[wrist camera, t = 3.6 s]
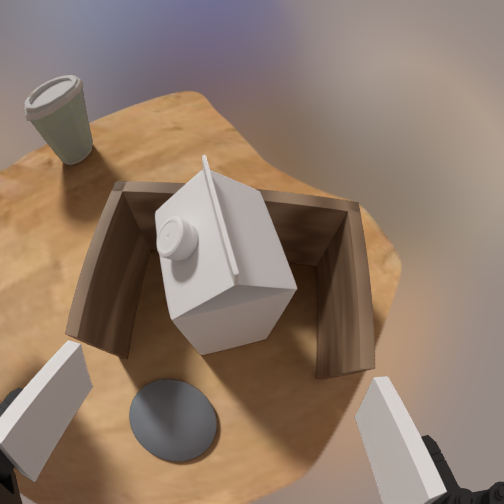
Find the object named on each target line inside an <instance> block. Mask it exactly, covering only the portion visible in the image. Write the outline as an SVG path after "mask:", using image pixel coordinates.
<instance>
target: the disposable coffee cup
mask: <svg viewBox="0 0 504 504" xmlns="http://www.w3.org/2000/svg"><path fill="white" fill-rule="evenodd" d="M24 105H25V107H26V108H25V110H24V111H25V114H26V118H27V120H28V121H31V122H32V124H33V125H34V126H35V128H36V129H37V130H38V132H39V133H40V134H41V135H42V137H43V138H44V140H45V141H46V142H47V143H48V145H49V146H50V147H51V148H52V150H53V151H54V152H55V153H56V155H57V156H58V157H59V158H60V160H61V161H62V162H63V163H65V164H66V165H74V164H77V163H79V162H81V161H82V160H84V159H85V158H86V157H87V156H88V155H89V154H90V152H91V151H92V143H93V140H92V136H91V131H90V126H89V121H88V116H87V111H86V105H85V99H84V93H83V83H82V81H81V80H80V79H79V78H77V77H75V76H74V75H67V76H61V77H58V78H55V79H52V80H50V81H48V82H46V83H44V84H43V85H41V86H39V87H38V88H37V89H35V90H34V91H33V92H32V93H31V94H30V95H29V96H28V98H27V100H26V101H25V103H24Z"/></svg>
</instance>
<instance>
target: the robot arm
mask: <svg viewBox="0 0 504 504" xmlns="http://www.w3.org/2000/svg"><path fill="white" fill-rule="evenodd" d="M92 387H93V386H92V383H91V380H90V376H89V373H88V370H87V366H86V363H85V359H84V355H83V351H82V347H81V344H79V343H76V342H72V341H69V340H68V341H67V342H66V343H65V344H64V345H63V346H62V347H61V348H60V349H59V350H58V351H57V353H56V354H55V355H54V356H53V357H52V358H51V359H50V360H49V361H48V362H47V363H46V364H45V365H44V367H43V368H42V369H41V370H40V371H39V372H38V373H37V374H36V375H35V377H34V378H33V379H32V380H31V381H30V382H29V383H28V385H27V386H26V387H25V388H24V389H21V388H17V389H16V390H14V391H12V392H10V393H9V395H8V396H7V397H6V398H5V399H4V402H3V401H2V403H1V404H0V504H22V501H21V498H20V493H19V489H18V485H17V480H16V475H15V473H14V471H13V469H14V467H16V469H17V470H18V471H19V472H20V473H21V474H22V475H24V476H25V477H27V478H29V479H30V480H32V481H33V482H36V480H37V478H38V476H39V474H40V473H41V471H42V469H43V467H44V465H45V464H46V462H47V460H48V458H49V457H50V455H51V453H52V452H53V450H54V448H55V446H56V445H57V443H58V441H59V440H60V438H61V436H62V435H63V433H64V431H65V430H66V428H67V427H68V425H69V423H70V422H71V420H72V418H73V417H74V415H75V414H76V412H77V411H78V409H79V407H80V406H81V404H82V403H83V401H84V400H85V398H86V397H87V395H88V394H89V392H90V390H91V389H92ZM355 420H356V423H357V426H358V429H359V432H360V434H361V437H362V440H363V443H364V446H365V449H366V452H367V455H368V458H369V461H370V464H371V468H372V471H373V474H374V477H375V480H376V483H377V487H378V490H379V493H380V496H381V500H382V503H383V504H504V482H497V483H495V484H494V485H493V486H492V487H490V489H488V490H484V491H478V492H471V491H470V490H468V489H464V488H460V487H459V486H458V484H457V482H456V480H455V478H454V476H453V474H452V472H451V470H450V468H449V466H448V464H447V462H446V460H444V459H445V458H444V456H443V454H442V453H441V450H440V449H439V447H438V445H437V443H436V442H435V441H434V440H433V439H432V438H431V437H430V436H429V435H426V436H422V437H421V436H420V435H419V433H418V431H417V429H416V427H415V425H414V423H413V421H412V419H411V417H410V416H409V414H408V412H407V410H406V408H405V406H404V404H403V403H402V401H401V399H400V397H399V395H398V394H397V392H396V390H395V388H394V386H393V385H392V383H391V381H390V379H389V378H388V376H384V377H374V378H373V379H372V382H371V384H370V386H369V388H368V391H367V393H366V395H365V397H364V399H363V401H362V403H361V405H360V407H359V409H358V411H357V413H356V415H355Z"/></svg>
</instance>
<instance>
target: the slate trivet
mask: <svg viewBox="0 0 504 504" xmlns="http://www.w3.org/2000/svg"><path fill="white" fill-rule="evenodd" d="M129 418H130V425H131V428H132V431H133V433H134V435H135V437H136V439H137V440H138V442H139V443H140V444H141V445H142V446H143V447H144V448H145V449H146V450H147V451H149V452H150V453H151V454H153V455H155V456H157V457H159V458H162V459H165V460H169V461H186V460H190V459H193V458H196V457H198V456H199V455H201V454H202V453H204V452H205V451H206V450H207V449H208V448H209V446H210V445H211V443H212V441H213V439H214V437H215V434H216V428H217V420H216V415H215V411H214V409H213V406H212V405H211V403H210V401H209V400H208V399H207V397H206V396H205V395H204V394H203V393H202V392H201V391H200V390H198V389H197V388H195V387H194V386H192V385H190V384H188V383H185V382H183V381H178V380H172V379H163V380H158V381H154V382H152V383H149V384H147V385H146V386H144V387H143V388H142V389H141V390H140V391H139V392H138V393H137V394H136V396H135V397H134V399H133V401H132V404H131V407H130V414H129Z"/></svg>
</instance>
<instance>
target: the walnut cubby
mask: <svg viewBox="0 0 504 504" xmlns="http://www.w3.org/2000/svg"><path fill="white" fill-rule="evenodd" d="M184 185H185V184H184V183H164V182H133V181H116V182H115V184H114V186H113V189H112V191H111V193H110V195H109V198H108V200H107V202H106V205H105V207H104V209H103V212H102V214H101V217H100V219H99V222H98V224H97V227H96V230H95V232H94V235H93V238H92V240H91V243H90V246H89V249H88V252H87V255H86V258H85V261H84V264H83V267H82V270H81V273H80V277H79V280H78V283H77V287H76V291H75V294H74V298H73V302H72V306H71V310H70V314H69V318H68V322H67V327H66V331H65V334H66V335H68V336H70V337H73V338H75V339H77V340H79V341H82V342H84V343H86V344H88V345H91V346H93V347H96V348H98V349H100V350H103V351H105V352H108V353H110V354H113V355H116V356H119V357H123V358H127V359H128V353H129V347H130V341H131V335H132V329H133V324H134V319H135V314H136V309H137V304H138V299H139V295H140V290H141V286H142V281H143V277H144V273H145V269H146V265H147V261H148V257H149V253H150V250H153V251H158V250H157V232H156V222H155V213H156V211H157V210H158V209H159V208H160V207H161V206H162V205H163V204H164V203H165V202H166V201H167V200H169V199H170V198H171V197H172V196H173V195H174V194H175V193H176V192H177V191H178V190H180V189H181V188H182V187H183V186H184ZM256 190H258V191H260V193H261V195H262V197H263V200H264V202H265V205H266V207H267V210H268V212H269V215H270V217H271V220H272V222H273V225H274V228H275V230H276V233H277V235H278V238H279V240H280V243H281V246H282V248H283V251H284V253H285V256H286V259H287V261H288V264H299V265H310V266H316V285H317V359H316V379H328V378H333V377H338V376H343V375H348V374H353V373H358V372H362V371H367V370H371V369H374V368H375V341H374V322H373V307H372V295H371V285H370V276H369V267H368V259H367V252H366V244H365V238H364V231H363V225H362V219H361V214H360V208H359V203H358V202H353V201H347V200H340V199H333V198H326V197H319V196H312V195H304V194H296V193H288V192H279V191H270V190H261V189H256Z"/></svg>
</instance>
